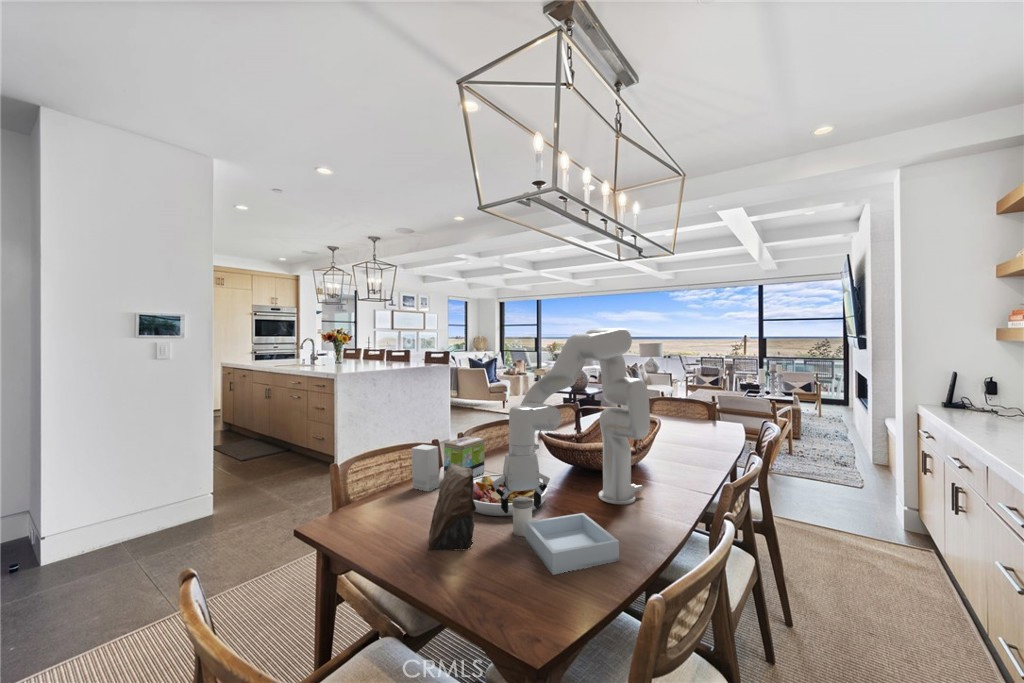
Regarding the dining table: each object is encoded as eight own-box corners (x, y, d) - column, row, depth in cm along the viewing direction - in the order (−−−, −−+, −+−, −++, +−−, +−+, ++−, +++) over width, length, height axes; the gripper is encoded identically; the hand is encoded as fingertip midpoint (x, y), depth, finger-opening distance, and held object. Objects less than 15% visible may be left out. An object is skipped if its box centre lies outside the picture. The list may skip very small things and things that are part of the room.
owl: (444, 529, 120) (443, 460, 120) (485, 533, 117) (485, 463, 117) (425, 550, 107) (425, 474, 107) (471, 555, 105) (470, 477, 105)
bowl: (514, 481, 162) (514, 461, 162) (565, 506, 137) (565, 482, 137) (445, 497, 145) (445, 475, 145) (488, 529, 120) (488, 502, 120)
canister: (528, 526, 121) (528, 495, 121) (535, 534, 116) (535, 502, 116) (509, 529, 119) (509, 498, 119) (516, 537, 114) (516, 505, 114)
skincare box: (439, 487, 155) (439, 446, 155) (427, 492, 149) (427, 450, 149) (423, 483, 159) (423, 443, 159) (411, 488, 153) (410, 447, 154)
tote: (583, 530, 118) (583, 512, 118) (619, 561, 101) (619, 541, 101) (525, 540, 113) (525, 521, 113) (552, 574, 96) (552, 553, 96)
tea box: (462, 483, 159) (462, 445, 159) (443, 479, 164) (443, 442, 164) (485, 473, 172) (485, 437, 172) (466, 469, 177) (466, 435, 177)
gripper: (544, 444, 124) (543, 501, 124) (489, 448, 118) (488, 508, 118) (554, 450, 117) (554, 510, 117) (496, 455, 111) (496, 518, 111)
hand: (521, 509), depth 117 cm, fingers open, 9 cm apart
